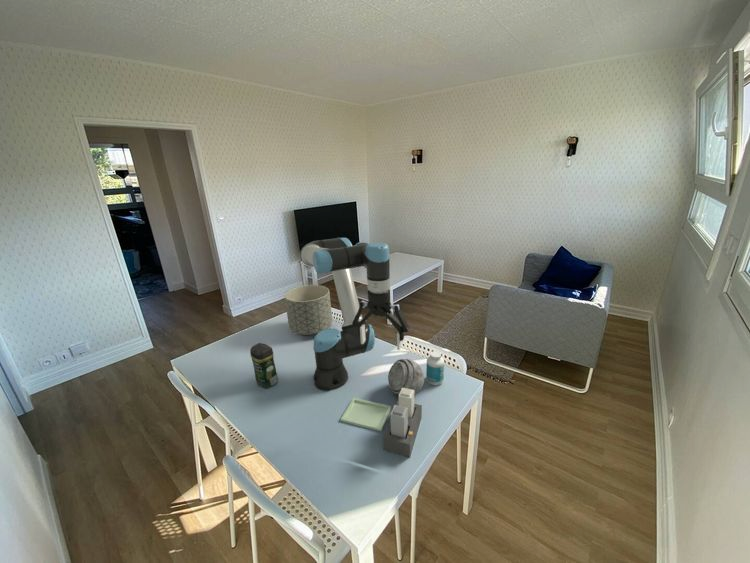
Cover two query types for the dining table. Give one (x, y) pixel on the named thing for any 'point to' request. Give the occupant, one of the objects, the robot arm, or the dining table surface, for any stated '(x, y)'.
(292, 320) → the planter
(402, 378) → the decorative orb
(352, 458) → the dining table surface
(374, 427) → the tray
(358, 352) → the robot arm
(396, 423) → the plug
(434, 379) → the pill bottle
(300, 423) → the dining table surface
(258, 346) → the coffee jar
